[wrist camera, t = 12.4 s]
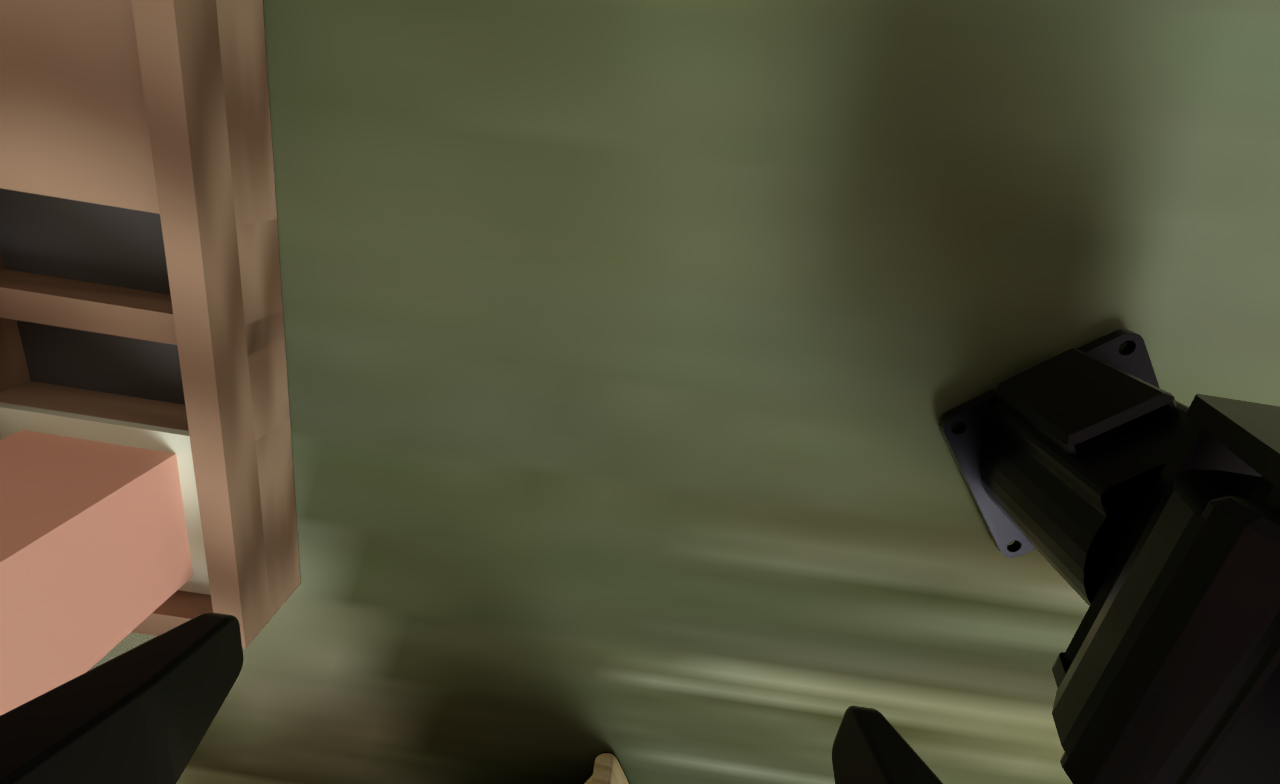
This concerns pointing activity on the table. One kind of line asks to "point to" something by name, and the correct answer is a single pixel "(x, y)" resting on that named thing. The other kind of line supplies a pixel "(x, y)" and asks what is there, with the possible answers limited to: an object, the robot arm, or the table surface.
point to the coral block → (81, 554)
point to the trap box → (153, 270)
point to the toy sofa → (607, 771)
